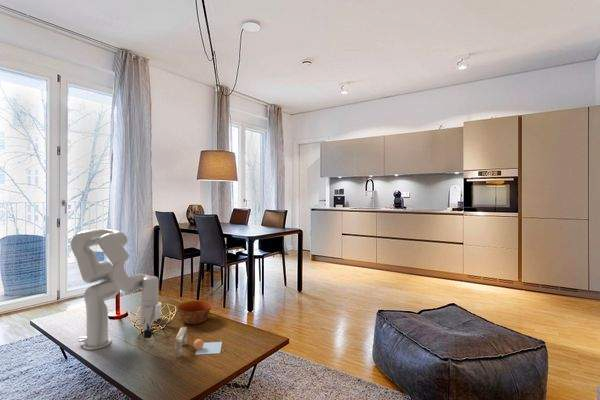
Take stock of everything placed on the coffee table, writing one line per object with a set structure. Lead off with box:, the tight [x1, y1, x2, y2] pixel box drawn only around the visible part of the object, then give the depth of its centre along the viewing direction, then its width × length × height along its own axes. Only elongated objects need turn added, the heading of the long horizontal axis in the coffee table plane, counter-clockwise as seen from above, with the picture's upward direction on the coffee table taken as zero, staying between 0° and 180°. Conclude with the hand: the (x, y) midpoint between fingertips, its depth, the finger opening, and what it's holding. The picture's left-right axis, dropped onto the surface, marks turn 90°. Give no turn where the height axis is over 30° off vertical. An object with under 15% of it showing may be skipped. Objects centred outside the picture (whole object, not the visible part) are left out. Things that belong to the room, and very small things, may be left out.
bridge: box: [174, 326, 188, 358], centre depth 166 cm, size 3×14×9 cm, turn 9°
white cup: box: [155, 301, 162, 319], centre depth 203 cm, size 8×8×10 cm
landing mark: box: [194, 341, 223, 356], centre depth 169 cm, size 12×12×1 cm
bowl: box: [176, 300, 213, 325], centre depth 202 cm, size 21×21×10 cm
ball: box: [193, 338, 205, 351], centre depth 167 cm, size 5×5×5 cm
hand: (147, 337), depth 164 cm, fingers closed
